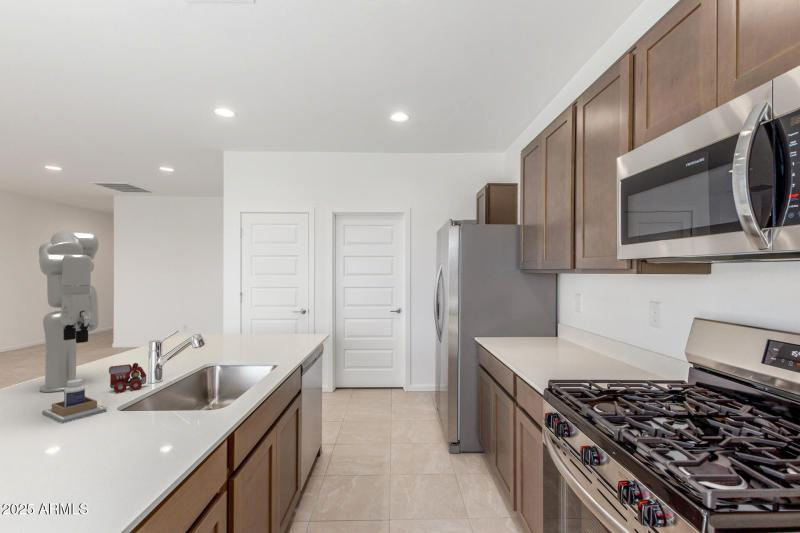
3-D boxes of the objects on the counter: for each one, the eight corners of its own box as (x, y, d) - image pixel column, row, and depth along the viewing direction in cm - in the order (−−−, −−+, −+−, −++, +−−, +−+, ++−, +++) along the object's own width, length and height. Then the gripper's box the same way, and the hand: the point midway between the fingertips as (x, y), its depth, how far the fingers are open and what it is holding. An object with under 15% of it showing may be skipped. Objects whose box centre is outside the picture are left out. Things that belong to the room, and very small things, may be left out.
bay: (42, 413, 128) (42, 403, 128) (85, 403, 138) (85, 393, 138) (61, 423, 120) (62, 412, 120) (106, 411, 130) (106, 401, 130)
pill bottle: (88, 407, 131) (88, 379, 131) (70, 413, 126) (71, 383, 126) (78, 405, 133) (78, 377, 133) (60, 411, 128) (60, 381, 128)
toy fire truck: (147, 388, 156) (147, 363, 156) (109, 394, 148) (109, 368, 148) (145, 384, 161) (145, 360, 162) (108, 390, 154) (108, 364, 154)
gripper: (51, 290, 131) (51, 340, 131) (73, 292, 122) (72, 345, 122) (78, 289, 138) (78, 337, 137) (101, 291, 129) (100, 341, 129)
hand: (75, 341), depth 130 cm, fingers open, 9 cm apart
